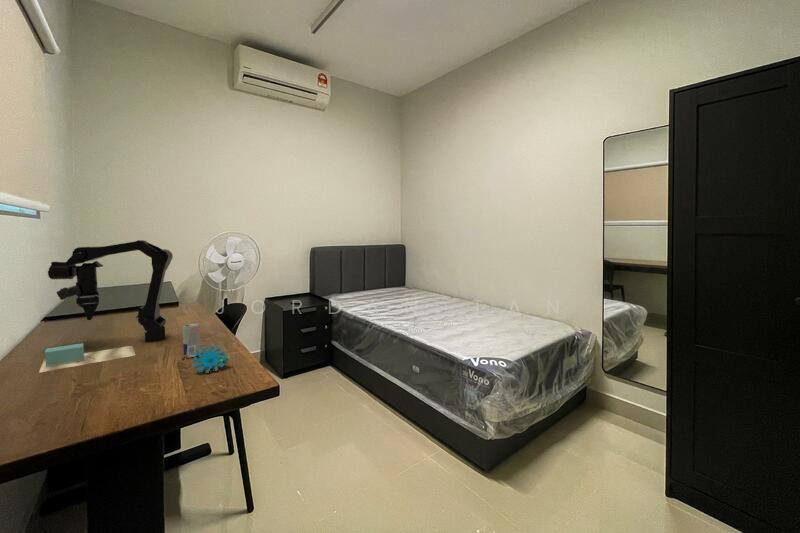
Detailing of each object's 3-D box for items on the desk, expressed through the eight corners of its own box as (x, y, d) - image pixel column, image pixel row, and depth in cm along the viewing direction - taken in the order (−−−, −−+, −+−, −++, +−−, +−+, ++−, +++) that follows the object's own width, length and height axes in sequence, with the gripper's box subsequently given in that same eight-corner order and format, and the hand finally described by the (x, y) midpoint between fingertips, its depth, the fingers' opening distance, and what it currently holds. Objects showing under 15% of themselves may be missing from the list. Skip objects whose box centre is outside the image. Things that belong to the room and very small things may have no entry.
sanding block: (84, 356, 118) (83, 343, 118) (83, 360, 115) (82, 346, 114) (47, 362, 112) (46, 348, 112) (46, 367, 109) (44, 352, 108)
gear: (189, 372, 106) (195, 344, 112) (190, 380, 110) (195, 352, 116) (228, 371, 110) (231, 344, 117) (227, 379, 114) (230, 352, 121)
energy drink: (188, 353, 127) (187, 323, 126) (203, 353, 127) (202, 323, 126) (180, 358, 121) (179, 326, 120) (195, 358, 122) (194, 326, 121)
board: (132, 348, 131) (132, 345, 131) (135, 358, 121) (135, 355, 121) (44, 363, 115) (43, 359, 115) (39, 376, 105) (38, 372, 105)
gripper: (59, 277, 131) (62, 316, 132) (55, 283, 117) (58, 326, 118) (97, 275, 138) (99, 312, 140) (97, 280, 125) (100, 321, 126)
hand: (89, 317), depth 131 cm, fingers open, 9 cm apart
